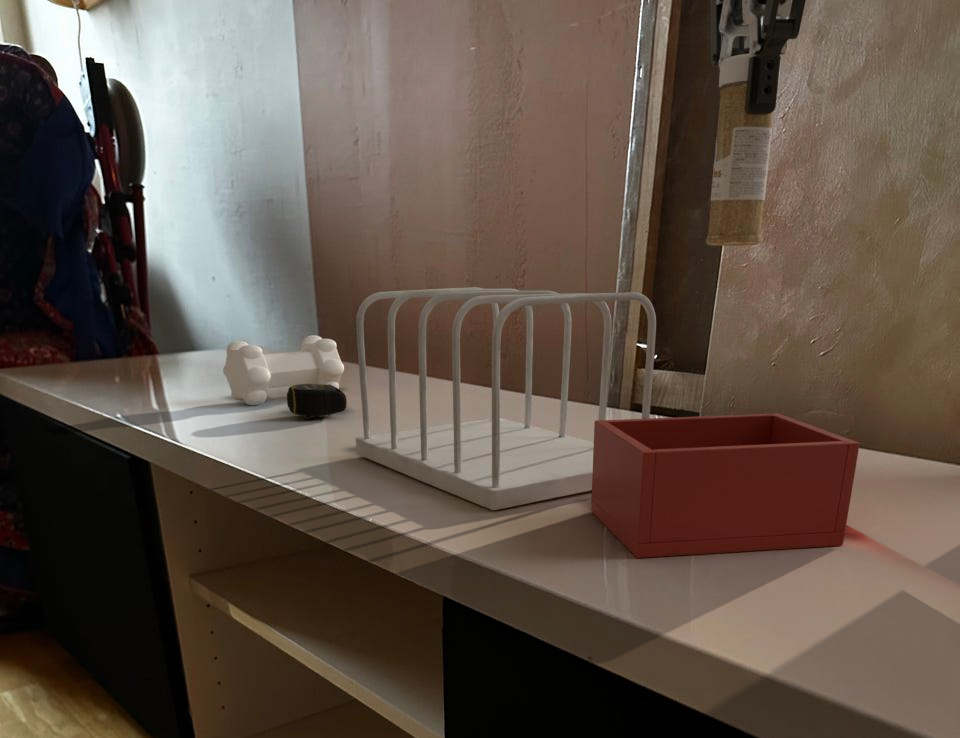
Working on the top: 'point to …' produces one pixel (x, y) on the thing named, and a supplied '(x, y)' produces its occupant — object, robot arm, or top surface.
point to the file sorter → (492, 442)
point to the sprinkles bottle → (738, 161)
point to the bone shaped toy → (280, 368)
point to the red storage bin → (721, 483)
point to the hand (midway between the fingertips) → (745, 117)
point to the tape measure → (315, 400)
